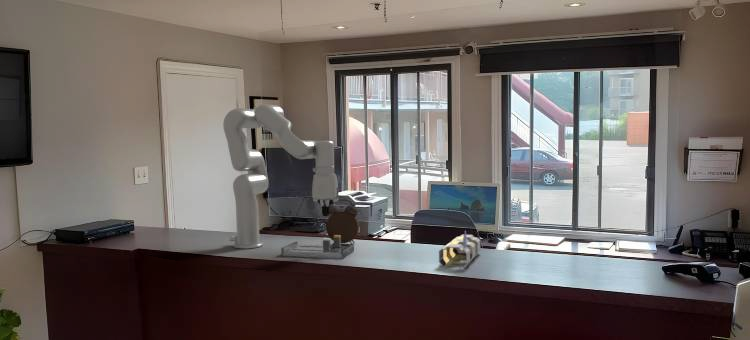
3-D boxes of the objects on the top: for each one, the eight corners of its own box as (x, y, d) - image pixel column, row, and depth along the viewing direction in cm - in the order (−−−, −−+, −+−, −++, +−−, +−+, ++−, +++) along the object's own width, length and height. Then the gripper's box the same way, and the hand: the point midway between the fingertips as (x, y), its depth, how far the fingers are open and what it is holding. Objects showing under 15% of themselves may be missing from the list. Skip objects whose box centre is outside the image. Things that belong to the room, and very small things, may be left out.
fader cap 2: (333, 247, 224) (333, 235, 224) (335, 246, 226) (335, 235, 226) (339, 247, 223) (339, 236, 223) (341, 246, 225) (340, 235, 225)
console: (281, 256, 220) (281, 248, 220) (295, 249, 233) (295, 241, 233) (343, 258, 213) (343, 250, 213) (354, 251, 227) (353, 243, 226)
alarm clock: (360, 242, 244) (359, 198, 243) (358, 246, 237) (357, 200, 236) (328, 242, 246) (327, 198, 245) (325, 246, 239) (324, 200, 237)
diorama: (467, 269, 194) (467, 232, 194) (438, 267, 198) (438, 231, 197) (480, 254, 218) (480, 222, 217) (454, 253, 221) (454, 221, 221)
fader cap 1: (323, 250, 218) (322, 238, 218) (324, 249, 220) (324, 238, 219) (329, 250, 217) (328, 239, 217) (330, 249, 219) (330, 238, 219)
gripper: (304, 171, 222) (305, 216, 223) (339, 171, 218) (340, 217, 219) (311, 170, 229) (312, 214, 230) (345, 170, 225) (346, 215, 226)
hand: (326, 215), depth 225 cm, fingers closed
